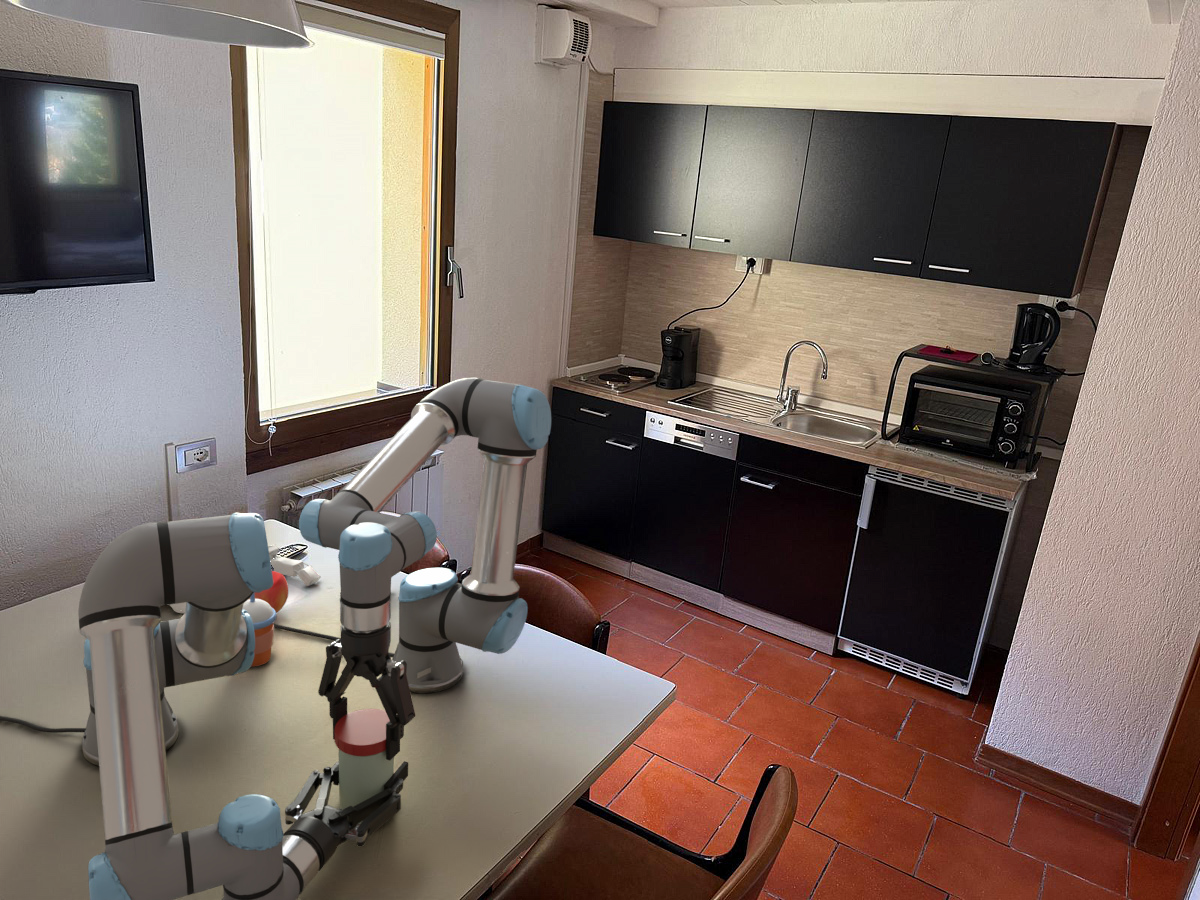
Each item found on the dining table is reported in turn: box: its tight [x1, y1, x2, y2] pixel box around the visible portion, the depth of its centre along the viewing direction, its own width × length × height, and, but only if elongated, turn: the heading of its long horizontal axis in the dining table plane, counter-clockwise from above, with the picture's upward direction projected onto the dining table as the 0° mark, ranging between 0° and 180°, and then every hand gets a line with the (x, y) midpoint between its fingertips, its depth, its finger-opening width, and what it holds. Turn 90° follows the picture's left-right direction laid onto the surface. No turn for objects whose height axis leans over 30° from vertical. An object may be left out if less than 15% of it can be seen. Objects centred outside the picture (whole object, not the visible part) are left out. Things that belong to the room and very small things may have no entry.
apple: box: [248, 571, 289, 614], centre depth 199 cm, size 10×10×10 cm
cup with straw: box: [243, 592, 278, 667], centre depth 180 cm, size 9×9×18 cm
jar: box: [338, 748, 395, 824], centre depth 140 cm, size 9×9×16 cm
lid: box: [333, 708, 390, 756], centre depth 138 cm, size 10×10×2 cm
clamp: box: [268, 544, 322, 587], centre depth 219 cm, size 20×4×7 cm, turn 62°
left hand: (381, 761), depth 145 cm, fingers closed on jar, 9 cm apart
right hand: (366, 745), depth 138 cm, fingers closed on lid, 10 cm apart
